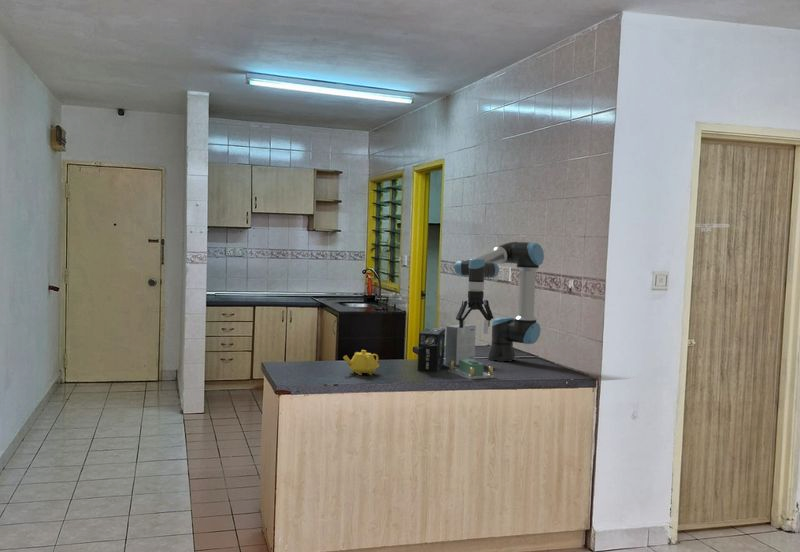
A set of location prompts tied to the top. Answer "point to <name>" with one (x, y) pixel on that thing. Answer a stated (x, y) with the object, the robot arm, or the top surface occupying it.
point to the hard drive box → (460, 343)
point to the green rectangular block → (467, 363)
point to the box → (431, 349)
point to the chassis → (471, 372)
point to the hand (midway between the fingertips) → (474, 334)
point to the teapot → (362, 362)
